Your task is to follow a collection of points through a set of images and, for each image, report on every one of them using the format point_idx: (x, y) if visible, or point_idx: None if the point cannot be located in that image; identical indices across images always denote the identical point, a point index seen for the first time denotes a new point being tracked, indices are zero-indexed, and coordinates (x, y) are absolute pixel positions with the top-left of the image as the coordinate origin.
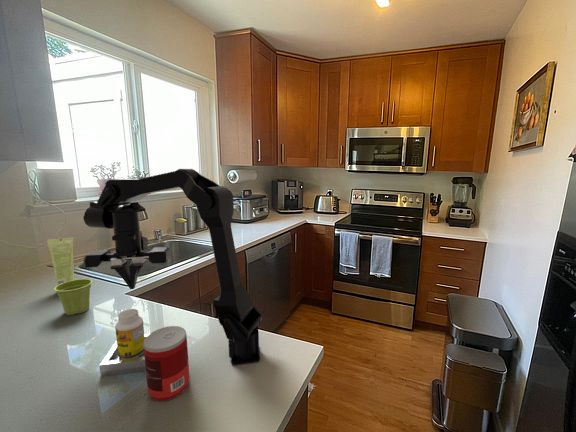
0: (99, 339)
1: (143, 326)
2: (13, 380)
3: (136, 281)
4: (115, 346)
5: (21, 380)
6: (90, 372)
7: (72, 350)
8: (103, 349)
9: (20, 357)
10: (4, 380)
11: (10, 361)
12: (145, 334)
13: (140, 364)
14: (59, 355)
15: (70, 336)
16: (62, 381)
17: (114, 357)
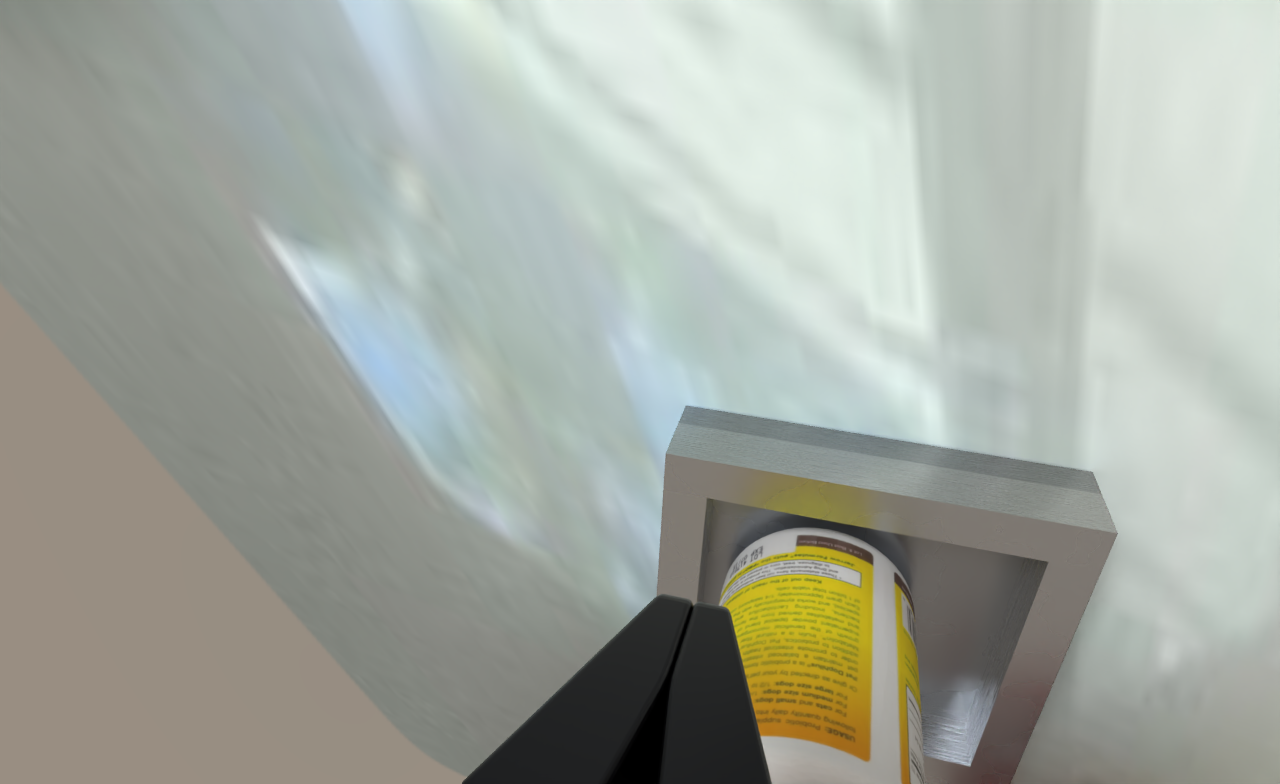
0: (471, 232)
1: (924, 779)
2: (232, 512)
3: (752, 713)
4: (683, 574)
5: (271, 526)
6: (594, 601)
7: (351, 330)
8: (570, 395)
9: (80, 301)
10: (189, 495)
11: (62, 327)
12: (904, 498)
13: None
14: (304, 363)
15: (197, 96)
16: (481, 612)
17: (702, 600)
